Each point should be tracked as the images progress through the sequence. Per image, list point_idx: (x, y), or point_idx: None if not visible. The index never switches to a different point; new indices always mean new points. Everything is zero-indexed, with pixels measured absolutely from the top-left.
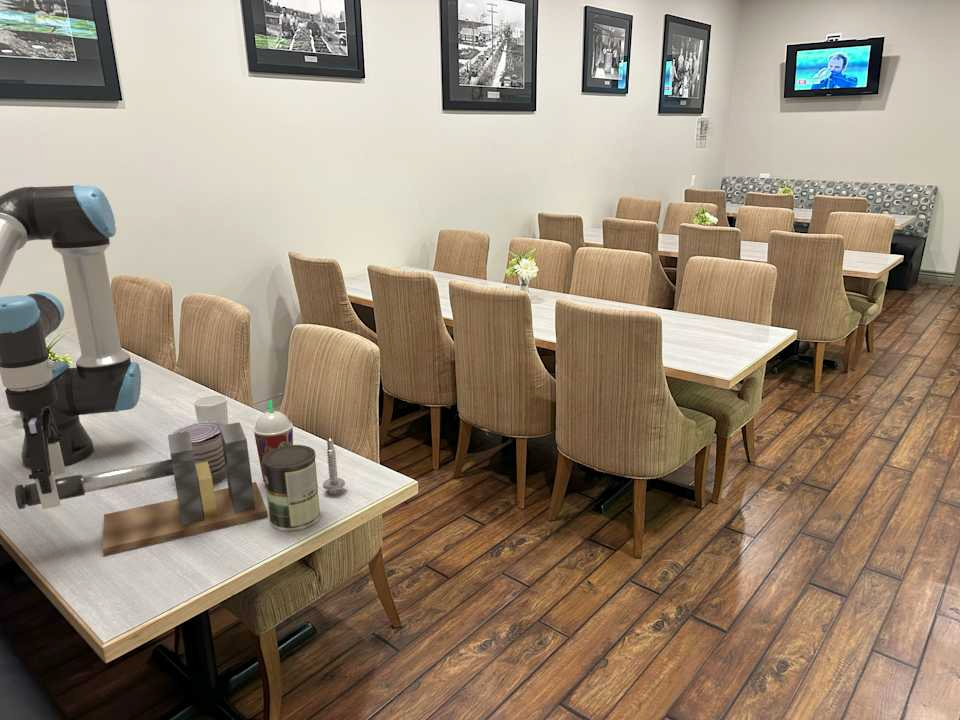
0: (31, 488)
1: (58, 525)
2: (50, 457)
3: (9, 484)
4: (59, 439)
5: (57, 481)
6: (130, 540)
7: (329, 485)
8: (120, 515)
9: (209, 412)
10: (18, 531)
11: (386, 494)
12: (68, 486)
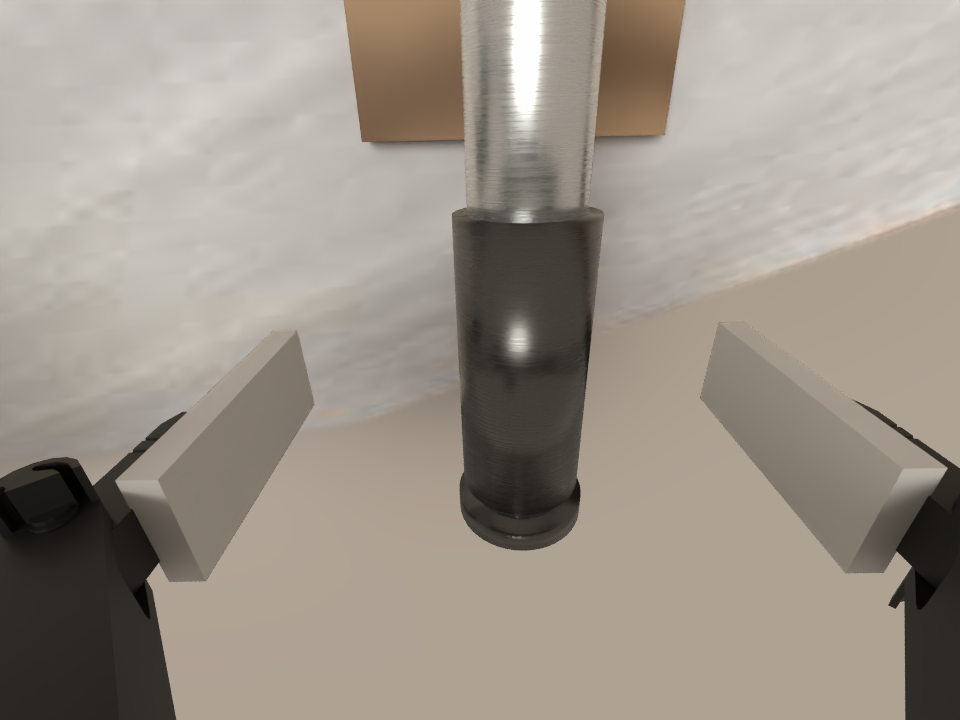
0: (555, 482)
1: (346, 303)
2: (253, 461)
3: (23, 457)
4: (63, 484)
5: (551, 371)
6: (668, 3)
7: None
8: (399, 63)
9: None
10: (346, 403)
11: None
12: (593, 299)
